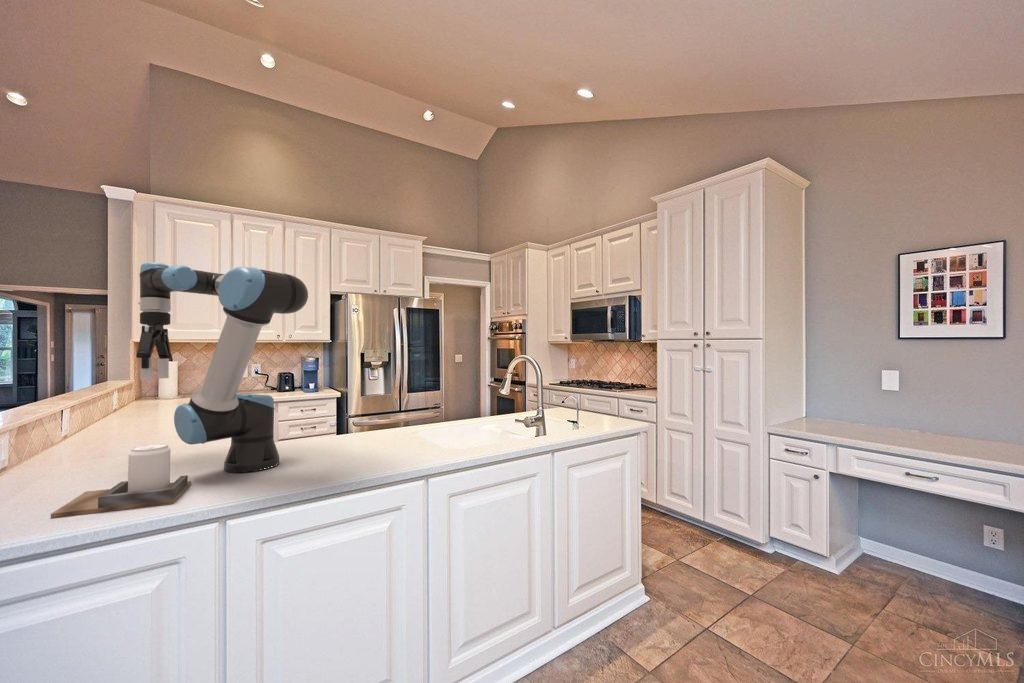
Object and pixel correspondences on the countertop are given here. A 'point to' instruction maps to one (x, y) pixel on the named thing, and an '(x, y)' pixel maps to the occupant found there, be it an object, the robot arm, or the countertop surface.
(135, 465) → the beverage can
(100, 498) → the keeper
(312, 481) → the countertop surface
